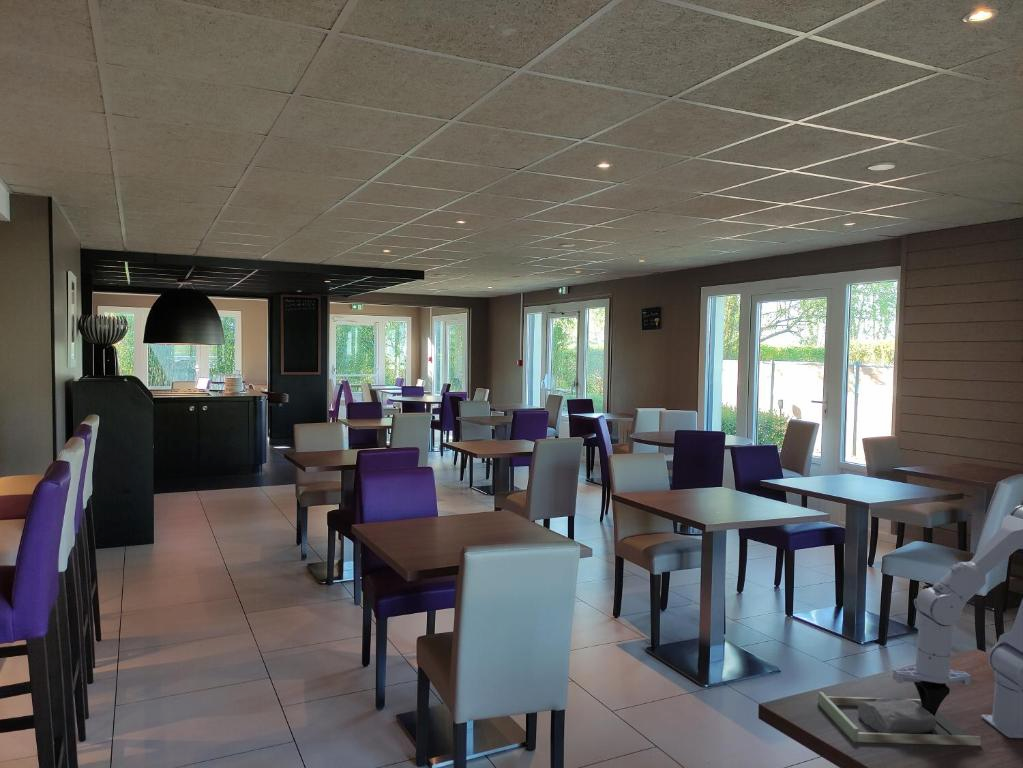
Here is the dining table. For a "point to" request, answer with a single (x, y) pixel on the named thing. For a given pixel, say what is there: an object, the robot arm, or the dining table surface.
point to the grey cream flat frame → (905, 737)
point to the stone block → (896, 716)
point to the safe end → (838, 717)
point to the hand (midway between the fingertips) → (928, 717)
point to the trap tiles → (945, 726)
